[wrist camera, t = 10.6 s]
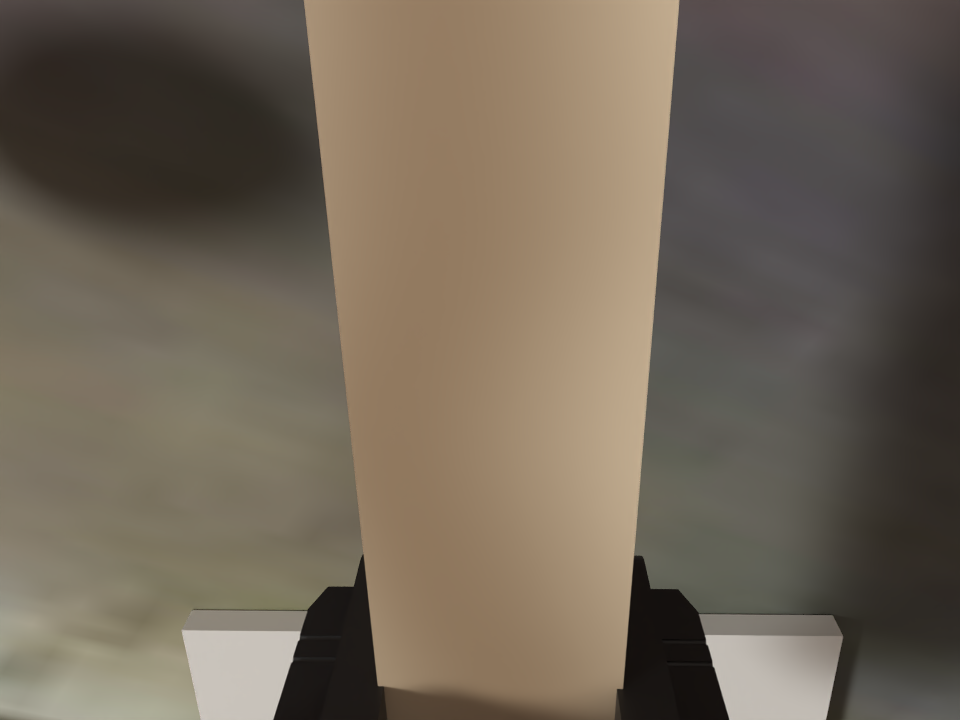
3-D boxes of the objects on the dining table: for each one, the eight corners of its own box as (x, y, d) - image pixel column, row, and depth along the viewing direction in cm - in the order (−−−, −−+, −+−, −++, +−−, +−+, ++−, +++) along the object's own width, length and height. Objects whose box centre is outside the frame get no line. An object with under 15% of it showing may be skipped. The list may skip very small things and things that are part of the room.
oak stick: (626, -135, 10) (693, -162, 6) (573, 895, 19) (587, 1120, 16) (367, -129, 10) (288, -151, 6) (440, 893, 19) (424, 1114, 16)
